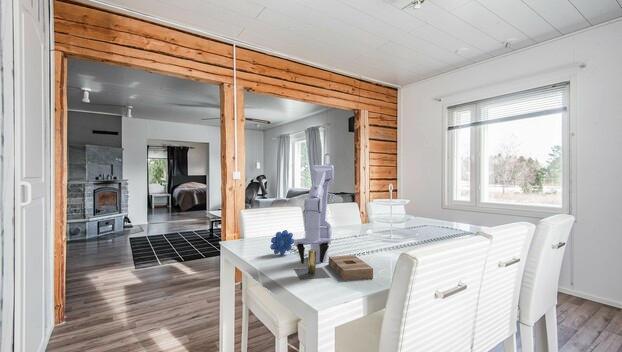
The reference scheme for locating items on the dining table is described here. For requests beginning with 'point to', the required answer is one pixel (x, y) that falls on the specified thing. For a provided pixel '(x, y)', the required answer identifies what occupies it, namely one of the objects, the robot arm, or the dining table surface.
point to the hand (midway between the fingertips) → (311, 262)
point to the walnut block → (350, 267)
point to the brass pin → (311, 261)
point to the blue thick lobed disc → (282, 242)
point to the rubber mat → (304, 274)
